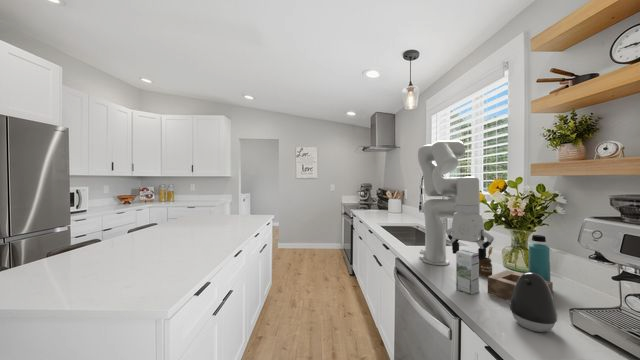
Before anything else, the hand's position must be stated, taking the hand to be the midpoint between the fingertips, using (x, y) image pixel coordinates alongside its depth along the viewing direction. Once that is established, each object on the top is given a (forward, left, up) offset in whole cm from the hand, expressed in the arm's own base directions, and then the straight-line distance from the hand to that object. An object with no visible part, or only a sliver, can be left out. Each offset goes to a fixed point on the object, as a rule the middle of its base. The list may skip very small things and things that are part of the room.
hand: (468, 256), depth 96 cm
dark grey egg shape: (+22, -8, -13) cm, 27 cm away
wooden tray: (+11, +11, -13) cm, 21 cm away
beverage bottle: (+11, +27, -13) cm, 33 cm away
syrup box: (-1, 0, -13) cm, 13 cm away
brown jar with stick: (-7, +23, -13) cm, 28 cm away
